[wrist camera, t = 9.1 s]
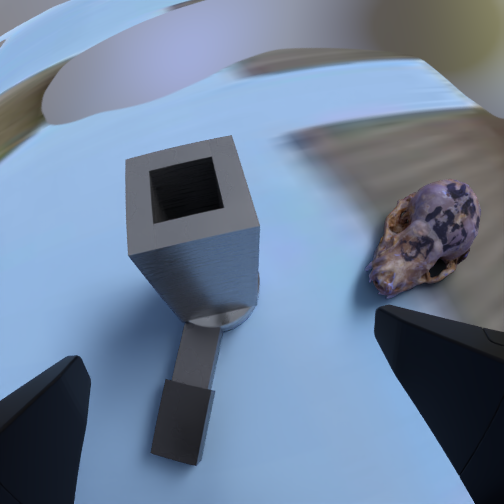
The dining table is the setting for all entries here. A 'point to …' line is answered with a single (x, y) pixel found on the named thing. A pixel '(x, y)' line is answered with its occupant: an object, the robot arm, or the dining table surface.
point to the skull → (425, 236)
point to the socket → (194, 227)
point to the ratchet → (192, 388)
